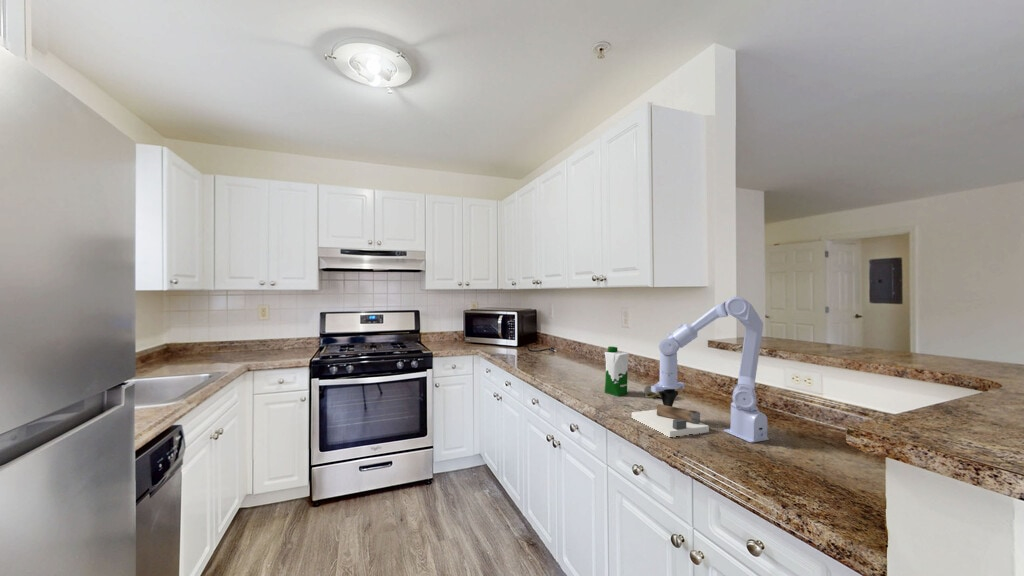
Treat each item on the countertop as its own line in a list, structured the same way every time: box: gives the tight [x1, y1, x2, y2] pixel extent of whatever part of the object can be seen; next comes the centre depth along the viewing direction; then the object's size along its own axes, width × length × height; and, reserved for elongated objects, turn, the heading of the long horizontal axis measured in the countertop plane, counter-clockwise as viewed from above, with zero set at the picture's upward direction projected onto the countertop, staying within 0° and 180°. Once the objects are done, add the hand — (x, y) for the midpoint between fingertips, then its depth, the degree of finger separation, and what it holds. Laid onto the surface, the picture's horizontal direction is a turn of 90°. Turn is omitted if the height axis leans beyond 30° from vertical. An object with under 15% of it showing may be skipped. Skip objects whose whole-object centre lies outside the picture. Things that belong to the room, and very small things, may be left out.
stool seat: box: [631, 409, 710, 438], centre depth 122 cm, size 18×16×4 cm
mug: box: [643, 381, 662, 399], centre depth 155 cm, size 8×10×10 cm
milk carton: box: [604, 346, 630, 397], centre depth 159 cm, size 9×9×20 cm
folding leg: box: [656, 403, 701, 423], centre depth 122 cm, size 13×3×3 cm, turn 54°
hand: (667, 410), depth 127 cm, fingers closed
